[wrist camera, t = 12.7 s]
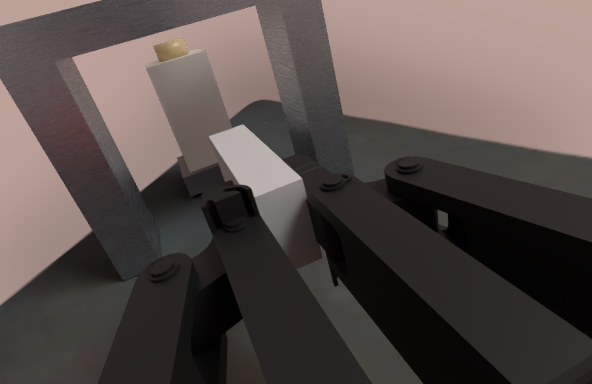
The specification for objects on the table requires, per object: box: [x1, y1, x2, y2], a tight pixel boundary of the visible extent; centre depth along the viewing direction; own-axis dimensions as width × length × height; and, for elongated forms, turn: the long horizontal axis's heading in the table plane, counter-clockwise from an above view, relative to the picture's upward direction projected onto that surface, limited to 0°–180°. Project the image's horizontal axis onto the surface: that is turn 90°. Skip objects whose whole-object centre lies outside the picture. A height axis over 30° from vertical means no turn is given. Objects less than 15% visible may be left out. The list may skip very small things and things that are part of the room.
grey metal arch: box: [0, 0, 354, 281], centre depth 23 cm, size 17×5×21 cm, turn 111°
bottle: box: [146, 38, 232, 197], centre depth 32 cm, size 6×6×12 cm
